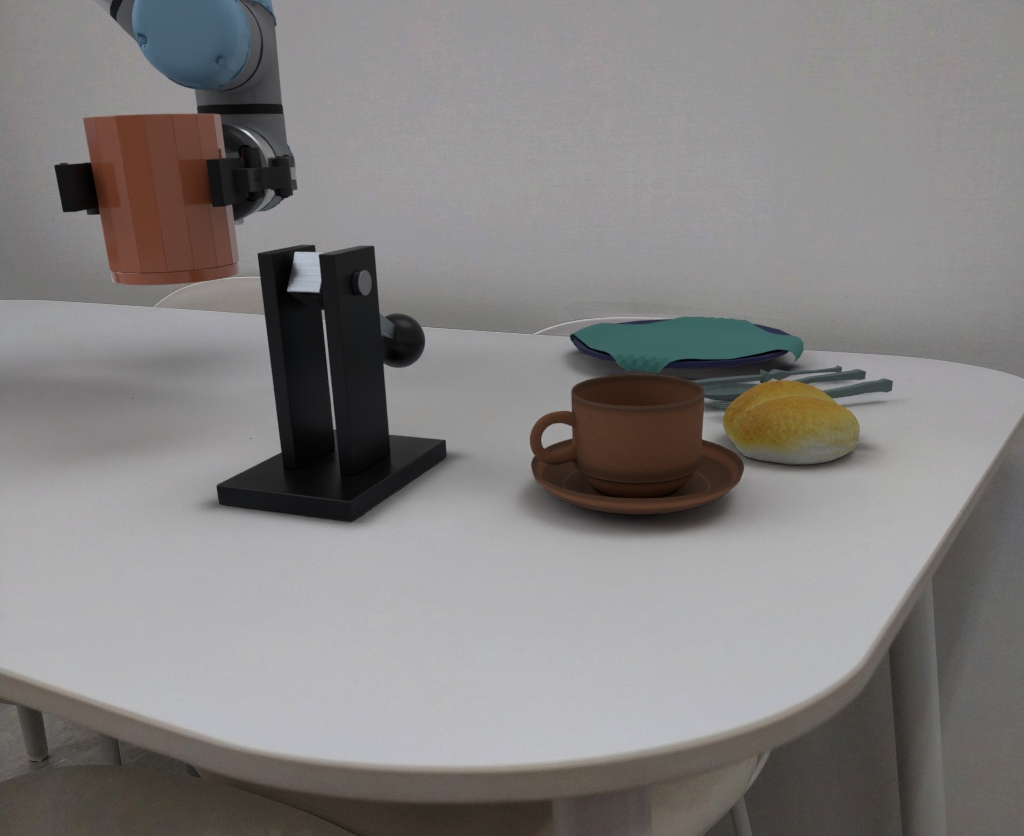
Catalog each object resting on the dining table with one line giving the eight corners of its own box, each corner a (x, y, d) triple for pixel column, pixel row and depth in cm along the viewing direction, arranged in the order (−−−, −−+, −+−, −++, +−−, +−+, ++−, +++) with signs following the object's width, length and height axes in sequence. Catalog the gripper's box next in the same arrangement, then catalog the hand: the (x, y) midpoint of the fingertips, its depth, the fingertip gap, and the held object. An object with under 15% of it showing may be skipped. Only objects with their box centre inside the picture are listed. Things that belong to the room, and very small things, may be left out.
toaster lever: (382, 373, 67) (391, 323, 67) (428, 376, 65) (438, 325, 66) (273, 301, 55) (286, 241, 55) (328, 303, 53) (340, 241, 54)
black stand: (329, 445, 67) (308, 237, 62) (447, 457, 63) (435, 239, 58) (218, 504, 56) (182, 260, 51) (352, 522, 53) (327, 264, 48)
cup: (84, 284, 63) (52, 118, 59) (169, 267, 70) (146, 118, 66) (185, 287, 60) (159, 113, 56) (264, 269, 67) (245, 113, 63)
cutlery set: (728, 331, 100) (730, 309, 99) (918, 400, 73) (922, 370, 72) (545, 347, 95) (544, 324, 94) (675, 427, 68) (676, 395, 67)
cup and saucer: (621, 551, 48) (622, 432, 46) (492, 487, 58) (488, 386, 55) (787, 500, 54) (796, 392, 52) (646, 449, 64) (648, 356, 61)
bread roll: (747, 471, 59) (751, 408, 57) (712, 430, 67) (714, 373, 66) (881, 465, 59) (888, 401, 58) (829, 424, 68) (834, 368, 66)
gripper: (357, 215, 81) (322, 243, 60) (102, 225, 81) (-24, 256, 59) (348, 119, 79) (309, 113, 58) (85, 128, 78) (-53, 125, 57)
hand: (140, 186), depth 58 cm, fingers closed on cup, 8 cm apart
